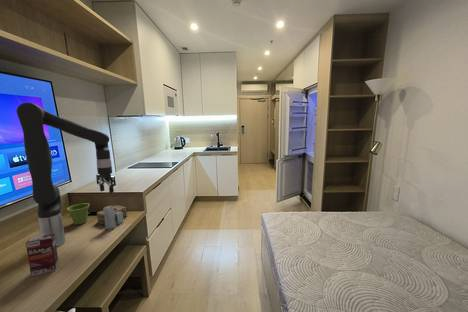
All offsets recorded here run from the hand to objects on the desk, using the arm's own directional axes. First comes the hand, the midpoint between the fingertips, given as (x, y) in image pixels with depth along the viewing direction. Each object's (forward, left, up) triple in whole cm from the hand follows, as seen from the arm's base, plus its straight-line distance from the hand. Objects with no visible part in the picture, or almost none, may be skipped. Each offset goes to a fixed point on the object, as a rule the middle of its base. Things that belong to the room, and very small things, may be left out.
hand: (107, 191), depth 124 cm
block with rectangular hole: (+9, +10, -24) cm, 27 cm away
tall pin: (0, 0, -24) cm, 24 cm away
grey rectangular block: (+7, +2, -24) cm, 25 cm away
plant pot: (-3, +26, -24) cm, 36 cm away
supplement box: (-37, -9, -24) cm, 45 cm away
